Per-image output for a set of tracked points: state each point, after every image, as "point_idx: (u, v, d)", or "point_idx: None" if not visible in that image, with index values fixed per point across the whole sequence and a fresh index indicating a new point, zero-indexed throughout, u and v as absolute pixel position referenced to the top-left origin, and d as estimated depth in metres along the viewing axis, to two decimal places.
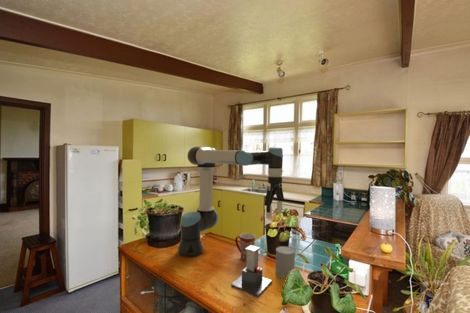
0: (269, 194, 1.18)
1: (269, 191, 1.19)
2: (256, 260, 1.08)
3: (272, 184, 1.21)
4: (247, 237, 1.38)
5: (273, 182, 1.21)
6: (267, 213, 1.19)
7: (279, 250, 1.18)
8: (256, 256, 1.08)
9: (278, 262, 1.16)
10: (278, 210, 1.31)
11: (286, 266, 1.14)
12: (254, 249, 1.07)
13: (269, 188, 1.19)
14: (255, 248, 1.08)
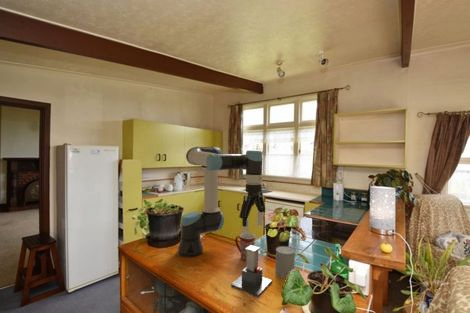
0: (245, 205, 1.01)
1: (245, 201, 1.02)
2: (256, 260, 1.08)
3: (250, 193, 1.04)
4: (247, 237, 1.38)
5: (251, 191, 1.04)
6: (243, 227, 1.02)
7: (279, 250, 1.18)
8: (256, 256, 1.08)
9: (278, 262, 1.16)
10: (258, 222, 1.14)
11: (286, 266, 1.14)
12: (254, 249, 1.07)
13: (245, 198, 1.02)
14: (255, 248, 1.08)
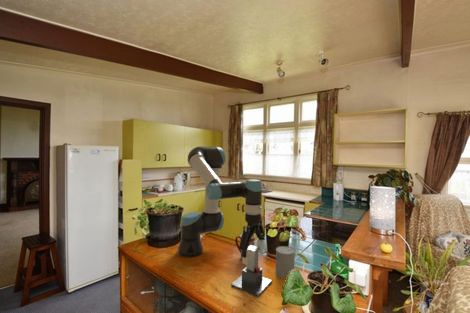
0: (245, 236, 1.01)
1: (245, 232, 1.02)
2: (256, 260, 1.08)
3: (249, 223, 1.05)
4: None
5: (250, 221, 1.05)
6: (243, 258, 1.03)
7: (279, 250, 1.18)
8: (256, 256, 1.08)
9: (278, 262, 1.16)
10: None
11: (286, 266, 1.14)
12: (254, 249, 1.07)
13: (245, 229, 1.02)
14: (255, 248, 1.08)
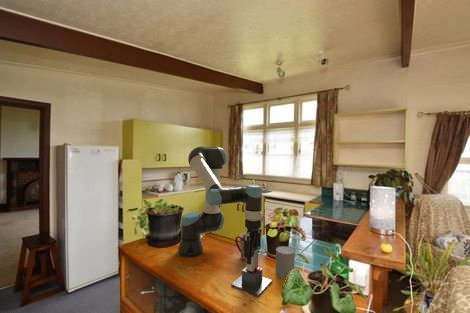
0: (247, 245, 1.03)
1: (246, 242, 1.03)
2: (256, 260, 1.08)
3: (249, 229, 1.05)
4: None
5: (250, 227, 1.05)
6: (248, 265, 1.07)
7: (279, 250, 1.18)
8: (256, 256, 1.08)
9: (278, 262, 1.16)
10: None
11: (286, 266, 1.14)
12: (254, 249, 1.07)
13: (245, 239, 1.03)
14: (255, 248, 1.08)
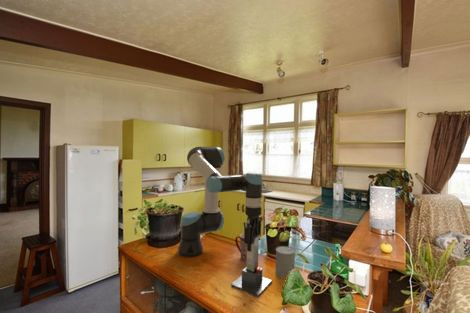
0: (247, 232, 1.03)
1: (246, 228, 1.03)
2: (256, 247, 1.08)
3: (249, 216, 1.05)
4: None
5: (250, 214, 1.05)
6: (248, 252, 1.07)
7: (279, 250, 1.18)
8: (256, 243, 1.07)
9: (278, 262, 1.16)
10: None
11: (286, 266, 1.14)
12: (254, 236, 1.07)
13: (246, 225, 1.03)
14: (255, 235, 1.08)
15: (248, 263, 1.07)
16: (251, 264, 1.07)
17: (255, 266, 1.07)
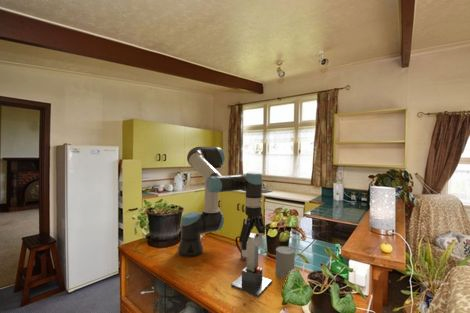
0: (245, 229, 1.01)
1: (245, 225, 1.02)
2: (256, 247, 1.08)
3: (249, 216, 1.05)
4: None
5: (250, 214, 1.05)
6: (243, 250, 1.03)
7: (279, 250, 1.18)
8: (256, 243, 1.07)
9: (278, 262, 1.16)
10: None
11: (286, 266, 1.14)
12: (254, 236, 1.07)
13: (245, 221, 1.02)
14: (255, 235, 1.08)
15: (248, 263, 1.07)
16: (251, 264, 1.07)
17: (255, 266, 1.07)
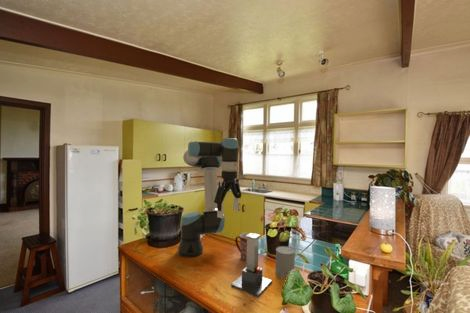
0: (220, 190, 1.05)
1: (220, 187, 1.06)
2: (256, 247, 1.08)
3: (225, 179, 1.08)
4: None
5: (226, 177, 1.08)
6: (218, 212, 1.06)
7: (279, 250, 1.18)
8: (256, 243, 1.07)
9: (278, 262, 1.16)
10: (234, 208, 1.18)
11: (286, 266, 1.14)
12: (254, 236, 1.07)
13: (220, 184, 1.06)
14: (255, 235, 1.08)
15: (248, 263, 1.07)
16: (251, 264, 1.07)
17: (255, 266, 1.07)
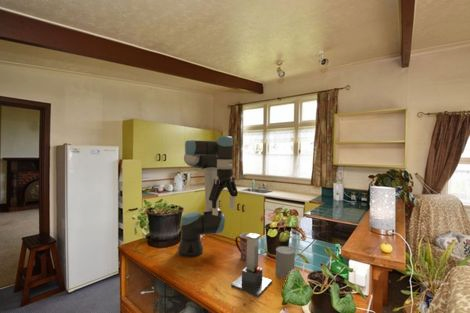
0: (215, 188, 1.05)
1: (215, 185, 1.06)
2: (256, 247, 1.08)
3: (220, 177, 1.09)
4: None
5: (221, 175, 1.09)
6: (213, 209, 1.07)
7: (279, 250, 1.18)
8: (256, 243, 1.07)
9: (278, 262, 1.16)
10: (231, 206, 1.18)
11: (286, 266, 1.14)
12: (254, 236, 1.07)
13: (215, 181, 1.06)
14: (255, 235, 1.08)
15: (248, 263, 1.07)
16: (251, 264, 1.07)
17: (255, 266, 1.07)
